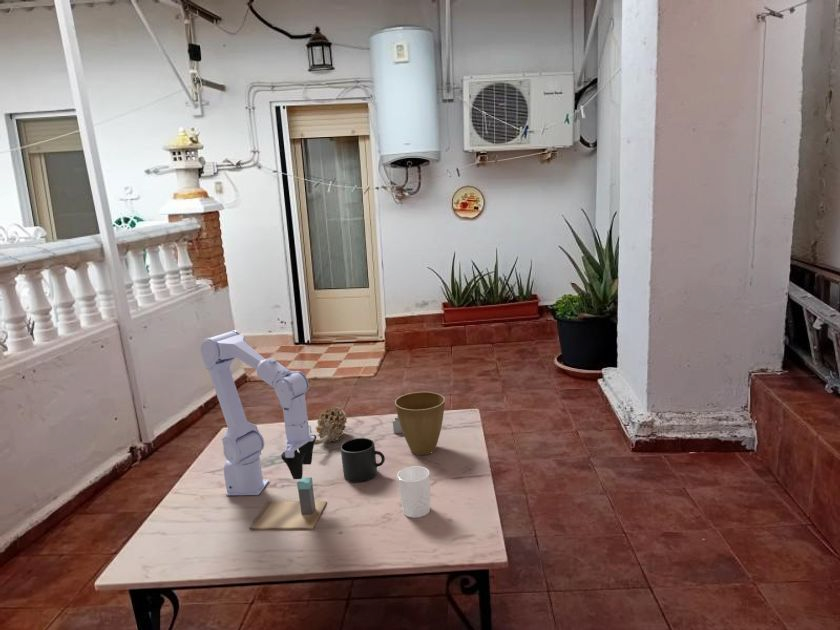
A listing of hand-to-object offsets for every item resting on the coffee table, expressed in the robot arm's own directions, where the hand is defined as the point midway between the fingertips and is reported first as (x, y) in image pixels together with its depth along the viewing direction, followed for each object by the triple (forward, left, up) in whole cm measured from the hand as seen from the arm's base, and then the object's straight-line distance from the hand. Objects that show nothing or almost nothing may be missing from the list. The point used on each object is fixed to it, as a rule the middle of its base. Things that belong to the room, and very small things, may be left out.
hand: (302, 471), depth 151 cm
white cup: (+29, -3, -10) cm, 31 cm away
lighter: (+19, +45, -10) cm, 50 cm away
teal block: (+2, -4, -9) cm, 10 cm away
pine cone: (-4, +37, -10) cm, 39 cm away
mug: (+12, +16, -10) cm, 22 cm away
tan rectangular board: (-3, -5, -10) cm, 11 cm away
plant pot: (+27, +31, -10) cm, 42 cm away
